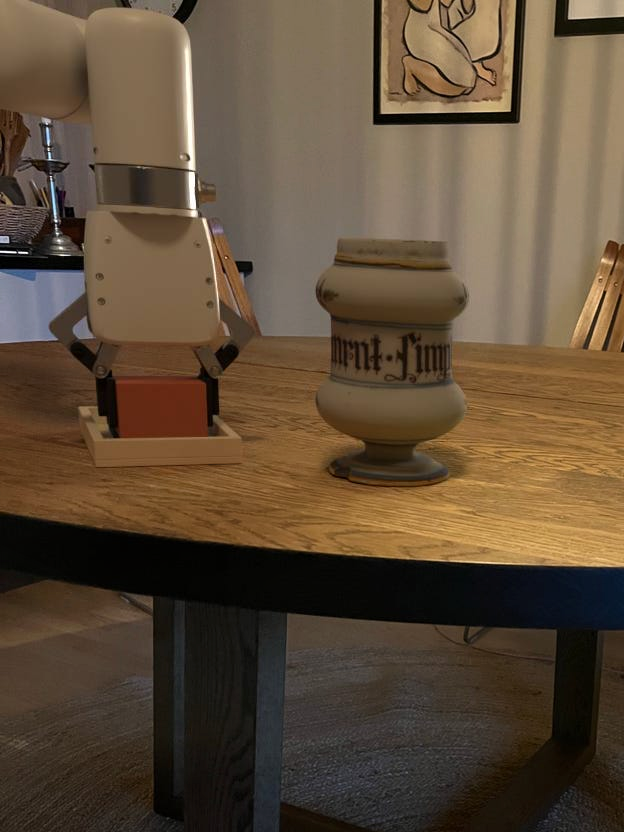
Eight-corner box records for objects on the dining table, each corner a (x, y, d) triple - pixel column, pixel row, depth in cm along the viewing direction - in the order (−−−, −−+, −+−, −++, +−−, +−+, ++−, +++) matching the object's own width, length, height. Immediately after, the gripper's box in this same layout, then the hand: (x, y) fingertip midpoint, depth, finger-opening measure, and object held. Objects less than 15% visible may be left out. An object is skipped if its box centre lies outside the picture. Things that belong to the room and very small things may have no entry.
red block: (120, 438, 84) (116, 383, 82) (114, 428, 88) (110, 375, 86) (207, 436, 86) (205, 383, 85) (198, 427, 90) (196, 375, 89)
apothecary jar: (284, 468, 84) (281, 231, 77) (390, 452, 92) (396, 238, 86) (388, 497, 77) (395, 238, 70) (492, 477, 85) (507, 245, 79)
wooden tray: (79, 429, 94) (77, 406, 94) (206, 427, 99) (205, 405, 98) (95, 467, 80) (93, 440, 80) (242, 463, 85) (241, 437, 84)
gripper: (248, 203, 87) (253, 416, 93) (24, 187, 80) (46, 418, 86) (269, 202, 81) (273, 430, 87) (27, 185, 74) (51, 435, 80)
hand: (160, 423), depth 87 cm, fingers closed on red block, 7 cm apart
